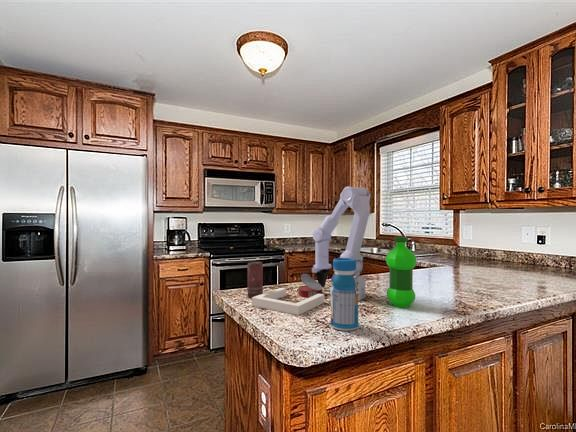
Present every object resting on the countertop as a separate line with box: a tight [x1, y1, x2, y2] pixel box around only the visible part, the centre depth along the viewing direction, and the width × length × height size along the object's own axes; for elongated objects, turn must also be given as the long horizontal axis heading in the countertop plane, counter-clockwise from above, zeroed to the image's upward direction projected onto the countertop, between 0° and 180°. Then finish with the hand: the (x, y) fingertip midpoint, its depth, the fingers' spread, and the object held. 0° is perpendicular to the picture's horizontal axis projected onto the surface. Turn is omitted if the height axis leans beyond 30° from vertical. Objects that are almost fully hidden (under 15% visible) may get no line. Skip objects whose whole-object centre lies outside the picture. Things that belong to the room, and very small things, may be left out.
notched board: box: [251, 287, 325, 316], centre depth 119 cm, size 20×18×3 cm
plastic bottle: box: [385, 236, 417, 309], centre depth 117 cm, size 10×10×25 cm
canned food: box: [298, 273, 323, 299], centre depth 133 cm, size 11×10×10 cm
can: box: [247, 260, 264, 299], centre depth 130 cm, size 6×6×14 cm
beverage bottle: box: [329, 257, 359, 332], centre depth 95 cm, size 8×8×20 cm
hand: (321, 286), depth 141 cm, fingers closed
